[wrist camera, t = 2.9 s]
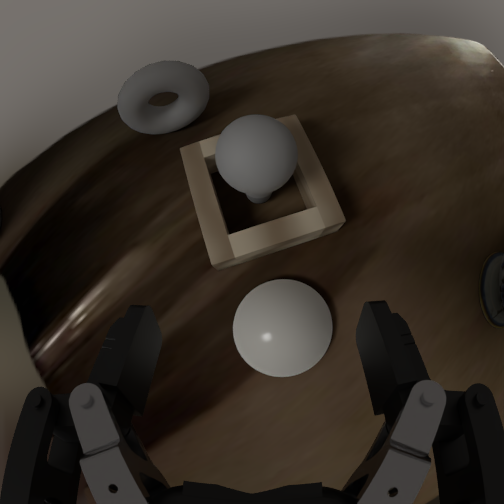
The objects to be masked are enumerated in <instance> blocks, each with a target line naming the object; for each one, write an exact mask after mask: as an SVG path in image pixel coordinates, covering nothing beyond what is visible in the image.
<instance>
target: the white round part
mask: <svg viewBox="0 0 504 504" xmlns="http://www.w3.org/2000/svg"><path fill="white" fill-rule="evenodd" d="M233 334H234V340H235V344H236V346H237V349H238V351H239V353H240V354H241V356H242V357H243V359H244V360H245V361H246V362H247V363H248V364H249V365H250V366H251V367H253V368H254V369H256V370H257V371H259V372H261V373H264V374H266V375H270V376H276V377H288V376H294V375H297V374H300V373H302V372H305V371H307V370H308V369H310V368H311V367H313V366H314V365H315V364H316V363H317V362H318V361H319V360H320V359H321V358H322V357H323V355H324V354H325V352H326V350H327V349H328V346H329V344H330V341H331V337H332V318H331V314H330V311H329V308H328V306H327V304H326V302H325V301H324V299H323V298H322V297H321V295H320V294H319V293H318V292H317V291H315V290H314V289H313V288H311V287H310V286H308V285H306V284H304V283H302V282H299V281H295V280H289V279H279V280H273V281H269V282H266V283H263V284H261V285H259V286H258V287H256V288H255V289H253V290H252V291H251V292H250V293H249V294H247V295H246V297H245V298H244V299H243V300H242V302H241V303H240V305H239V307H238V309H237V311H236V314H235V318H234V323H233Z"/></svg>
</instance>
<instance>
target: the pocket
mask: <svg viewBox="0 0 504 504" xmlns="http://www.w3.org/2000/svg"><path fill="white" fill-rule="evenodd" d="M276 120H278V121H280V122H281V123H282V124H284V125H285V126H286V127H287V128H288V129H289V130H290V132H291V134H292V135H293V137H294V139H295V142H296V145H297V150H298V159H297V165H296V168H295V170H294V173H293V177H294V179H295V182H296V184H297V186H298V189H299V191H300V193H301V196H302V198H303V201H304V203H305V206H306V208H307V210H304V211H301V212H298V213H295V214H291V215H288V216H285V217H282V218H279V219H276V220H273V221H269V222H266V223H263V224H260V225H257V226H254V227H251V228H248V229H245V230H242V231H239V232H236V233H233V234H230V235H229V232H228V229H227V225H226V222H225V219H224V216H223V213H222V209H221V206H220V203H219V200H218V197H217V193H216V190H215V187H214V184H213V180H212V177H211V173H214V172H217V171H219V170H218V168H217V165H216V160H215V150H216V144H217V141H218V139H219V136H220V135H221V134H220V135H217V136H214V137H211V138H208V139H205V140H202V141H199V142H196V143H193V144H190V145H188V146H185V147H182V148H180V151H181V155H182V159H183V163H184V167H185V171H186V175H187V179H188V183H189V186H190V190H191V194H192V197H193V201H194V205H195V208H196V212H197V216H198V219H199V223H200V226H201V230H202V233H203V237H204V240H205V244H206V247H207V251H208V254H209V257H210V261H211V264H212V266H213V267H215V268H216V269H217V270H222V269H225V268H228V267H231V266H234V265H238V264H241V263H244V262H247V261H250V260H253V259H256V258H259V257H262V256H265V255H268V254H271V253H274V252H277V251H280V250H283V249H286V248H289V247H292V246H295V245H298V244H301V243H304V242H307V241H310V240H313V239H316V238H319V237H322V236H325V235H328V234H331V233H333V232H336V231H337V230H338V229H339V228H340V227H341V226H342V225H343V224H344V223H345V221H346V220H345V217H344V215H343V212H342V210H341V208H340V205H339V203H338V201H337V198H336V196H335V194H334V192H333V189H332V187H331V185H330V183H329V180H328V178H327V176H326V174H325V172H324V170H323V168H322V165H321V163H320V161H319V159H318V157H317V155H316V153H315V151H314V149H313V147H312V145H311V143H310V141H309V139H308V137H307V135H306V133H305V131H304V129H303V128H302V126H301V124H300V122H299V120H298V118H297V116H296V114H295V115H290V116H286V117H282V118H278V119H276Z"/></svg>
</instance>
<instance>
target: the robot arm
mask: <svg viewBox="0 0 504 504" xmlns="http://www.w3.org/2000/svg"><path fill="white" fill-rule="evenodd" d="M0 227H1V208H0ZM356 342H357V346H358V350H359V354H360V357H361V361H362V365H363V369H364V373H365V377H366V381H367V385H368V389H369V393H370V397H371V402H372V406H373V410H374V415H380V414H384V415H385V422H384V423H383V425H382V427H381V429H380V431H379V433H378V435H377V437H376V439H375V441H374V442H373V444H372V446H371V448H370V450H369V451H368V453H367V455H366V456H365V458H364V460H363V461H362V463H361V464H360V466H359V467H358V468H357V469H356V470H355V472H354V473H353V474H352V476H351V477H350V478H349V480H348V481H347V483H346V484H345V486H344V487H343V489H342V490H341V491H340V490H337V489H334V488H329V487H323V486H322V482H320V483H311V484H300V485H287V486H284V487H280V488H276V489H272V490H268V491H264V492H259V493H254V494H250V493H245V492H241V491H237V490H234V489H230V488H226V487H223V486H220V485H216V484H205V483H196V482H188V481H184V483H183V485H181V486H176V487H170V485H169V484H168V482H167V481H166V479H165V478H164V476H163V475H162V473H161V472H160V471H159V470H158V468H157V467H156V466H155V465H154V464H153V462H152V461H151V459H150V457H149V456H148V454H147V452H146V450H145V448H144V446H143V444H142V443H141V441H140V439H139V437H138V435H137V433H136V431H135V429H134V426H133V424H132V423H131V420H132V416H133V415H137V416H143V413H144V409H145V405H146V401H147V397H148V393H149V389H150V385H151V381H152V377H153V374H154V370H155V366H156V363H157V359H158V356H159V352H160V349H161V344H162V335H161V331H160V328H159V326H158V323H157V321H156V318H155V316H154V313H153V311H152V308H151V307H150V306H142V305H131V306H130V307H129V308H128V310H127V312H126V315H125V317H124V318H119V319H118V320H117V321H116V322H115V323H114V324H113V325H112V326H111V327H110V329H109V332H108V334H107V336H106V340H105V341H104V343H103V345H102V349H101V350H100V352H99V355H98V357H97V359H96V362H95V364H94V367H93V369H92V372H91V374H90V377H89V379H88V381H87V383H84V384H81V385H79V386H77V387H76V388H75V389H74V390H73V391H72V393H70V394H58V395H52V394H51V393H50V392H49V391H48V390H47V389H46V388H44V387H37V388H34V389H33V390H31V391H30V393H29V394H28V396H27V397H26V400H25V403H24V405H23V408H22V411H21V414H20V417H19V420H18V423H17V427H16V430H15V433H14V437H13V440H12V444H11V448H10V451H9V455H8V460H7V464H6V469H5V474H4V479H3V484H2V491H1V497H0V504H76V501H77V493H78V486H79V480H80V474H81V468H82V471H83V473H84V476H85V478H86V481H87V483H88V486H89V488H90V490H91V492H92V495H93V497H94V499H95V501H96V503H97V504H412V503H413V502H414V500H415V498H416V496H417V494H418V492H419V490H420V488H421V486H422V484H423V482H424V479H425V477H426V475H427V473H428V471H429V468H430V465H431V458H429V456H428V455H429V451H430V448H431V446H432V448H433V453H434V459H435V466H436V473H437V480H438V489H439V499H440V504H504V430H503V426H502V422H501V419H500V416H499V412H498V409H497V406H496V403H495V400H494V397H493V394H492V392H491V391H490V389H489V388H488V387H487V386H485V385H483V384H480V383H477V384H473V385H472V386H470V387H469V388H468V389H467V390H466V391H465V392H462V391H447V390H444V389H443V388H442V387H441V386H440V385H439V384H438V383H436V382H434V381H431V379H430V378H429V376H428V373H427V370H426V368H425V365H424V363H423V360H422V358H421V355H420V353H419V350H418V348H417V345H416V344H415V341H414V338H413V336H412V335H411V332H410V329H409V327H408V325H407V323H406V321H405V320H404V319H403V318H402V317H401V316H400V315H399V314H398V313H391V311H390V309H389V307H388V304H387V302H386V301H384V300H383V301H371V302H365V304H364V306H363V309H362V313H361V316H360V319H359V322H358V326H357V329H356ZM52 434H54V439H53V442H52V446H51V451H50V455H49V460H48V462H47V454H48V450H49V446H50V442H51V438H52ZM389 494H390V495H389ZM388 495H389V496H388Z"/></svg>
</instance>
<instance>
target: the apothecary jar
mask: <svg viewBox="0 0 504 504" xmlns="http://www.w3.org/2000/svg"><path fill="white" fill-rule="evenodd" d="M479 299H480V305H481V308H482V311H483V314H484V316H485V318H486V320H487V321H488V323H489V324H490V325H491V326H493V327H494V328H498V329H501V328H504V253H503V252H494V253H492V254H491V255H489V256H488V257H487V259H486V260H485V262H484V264H483V267H482V270H481V274H480V279H479Z"/></svg>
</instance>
